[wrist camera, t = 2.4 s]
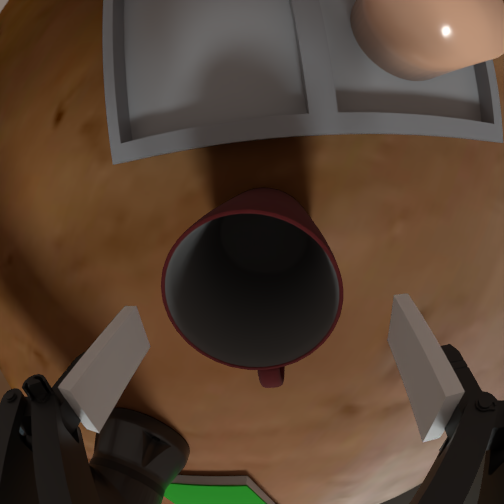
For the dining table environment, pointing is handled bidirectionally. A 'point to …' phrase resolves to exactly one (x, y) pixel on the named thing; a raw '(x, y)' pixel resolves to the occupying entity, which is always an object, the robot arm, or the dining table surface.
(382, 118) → the holder
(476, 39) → the peach rounded cylinder
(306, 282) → the mug
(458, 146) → the dining table surface
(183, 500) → the book
